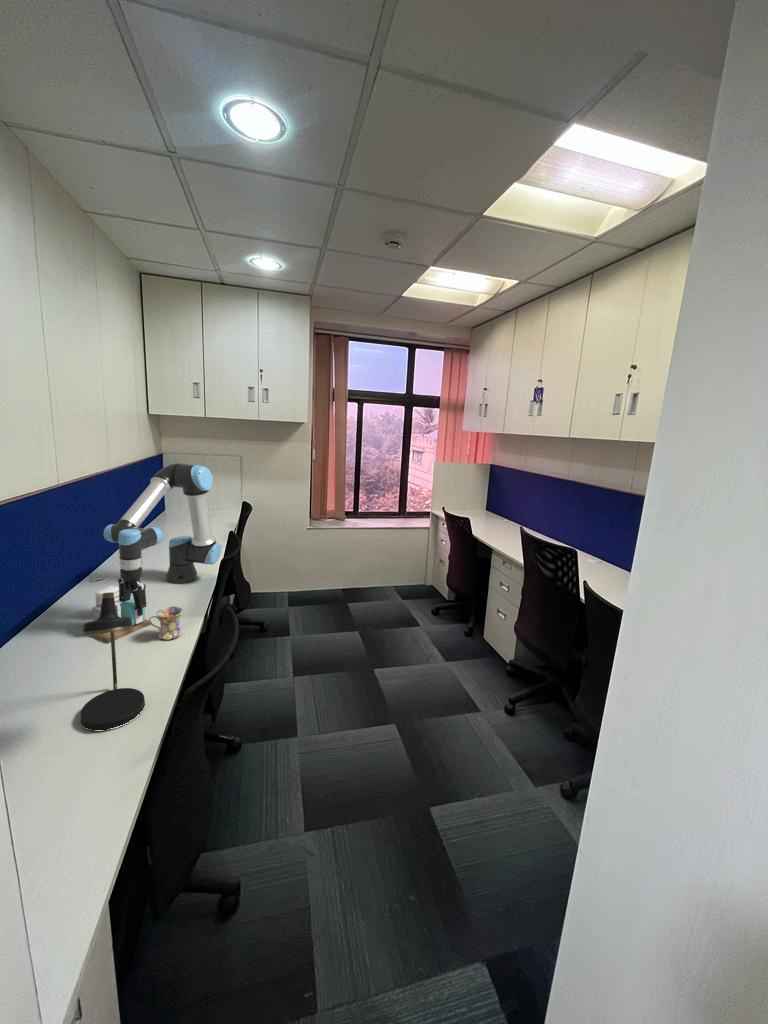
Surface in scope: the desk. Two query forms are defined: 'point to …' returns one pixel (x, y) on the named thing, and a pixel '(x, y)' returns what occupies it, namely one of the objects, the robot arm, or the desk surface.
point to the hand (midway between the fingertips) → (133, 620)
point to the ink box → (107, 590)
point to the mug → (169, 622)
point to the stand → (118, 634)
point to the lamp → (117, 702)
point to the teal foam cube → (130, 610)
